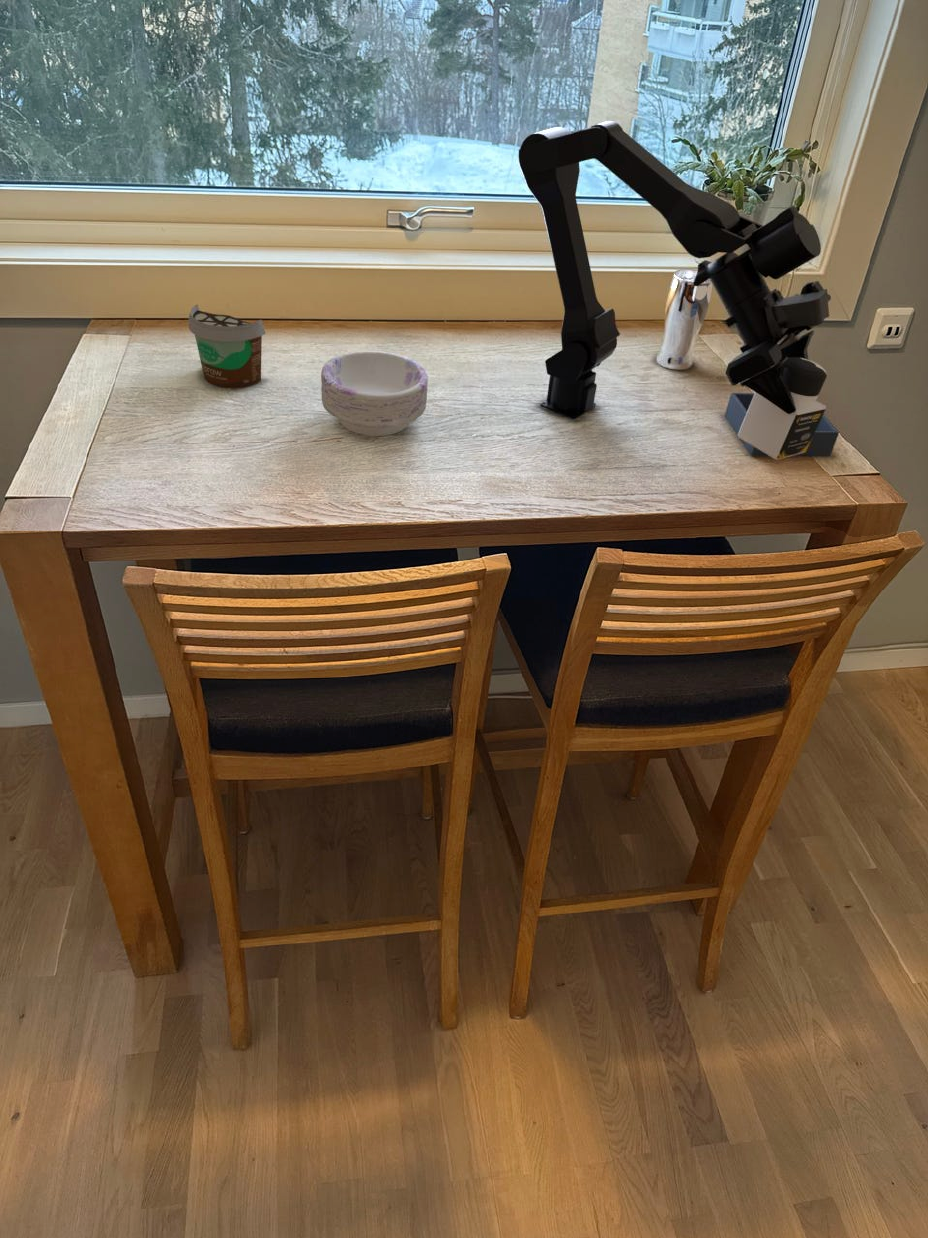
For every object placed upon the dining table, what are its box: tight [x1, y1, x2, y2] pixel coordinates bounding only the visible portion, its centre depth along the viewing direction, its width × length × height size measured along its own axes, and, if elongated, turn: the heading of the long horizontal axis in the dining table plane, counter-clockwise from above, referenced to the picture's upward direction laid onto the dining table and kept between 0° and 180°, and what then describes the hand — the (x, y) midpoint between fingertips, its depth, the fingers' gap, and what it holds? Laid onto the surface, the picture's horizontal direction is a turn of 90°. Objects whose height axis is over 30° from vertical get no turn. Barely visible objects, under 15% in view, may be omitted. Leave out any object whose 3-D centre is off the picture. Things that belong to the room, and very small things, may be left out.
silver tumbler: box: [656, 268, 714, 371], centre depth 152 cm, size 7×7×15 cm
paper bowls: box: [320, 350, 429, 437], centre depth 130 cm, size 15×15×8 cm
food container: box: [187, 303, 267, 389], centre depth 136 cm, size 12×6×10 cm, turn 68°
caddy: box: [724, 392, 840, 457], centre depth 137 cm, size 12×12×4 cm
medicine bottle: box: [737, 357, 828, 461], centre depth 122 cm, size 7×7×12 cm
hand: (801, 402), depth 120 cm, fingers closed on medicine bottle, 7 cm apart
